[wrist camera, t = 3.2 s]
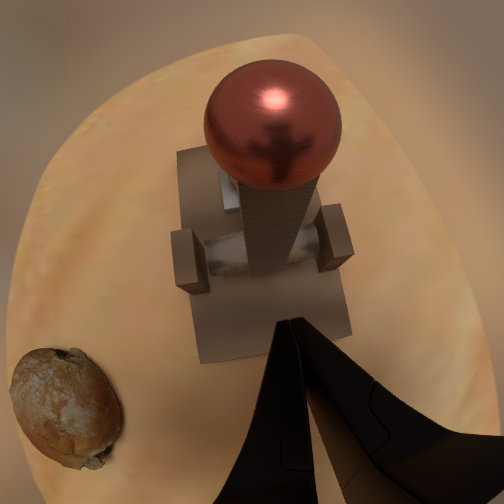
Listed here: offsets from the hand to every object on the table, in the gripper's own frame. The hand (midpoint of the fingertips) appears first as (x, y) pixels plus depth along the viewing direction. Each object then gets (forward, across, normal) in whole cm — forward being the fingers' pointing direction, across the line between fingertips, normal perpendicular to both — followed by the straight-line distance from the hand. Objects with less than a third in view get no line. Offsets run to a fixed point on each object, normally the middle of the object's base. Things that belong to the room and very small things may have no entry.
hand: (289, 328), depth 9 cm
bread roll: (+4, +17, +11) cm, 21 cm away
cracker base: (+12, 0, +3) cm, 13 cm away
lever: (+9, 0, +1) cm, 9 cm away
